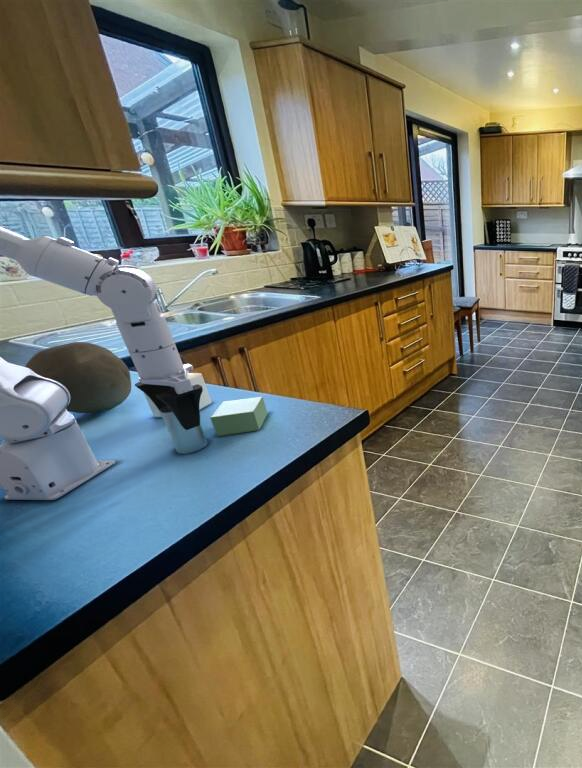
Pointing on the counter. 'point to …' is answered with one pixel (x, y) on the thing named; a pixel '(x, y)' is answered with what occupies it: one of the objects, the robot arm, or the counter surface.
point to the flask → (183, 433)
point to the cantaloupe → (85, 375)
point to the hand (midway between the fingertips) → (182, 421)
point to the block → (239, 416)
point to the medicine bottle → (194, 379)
